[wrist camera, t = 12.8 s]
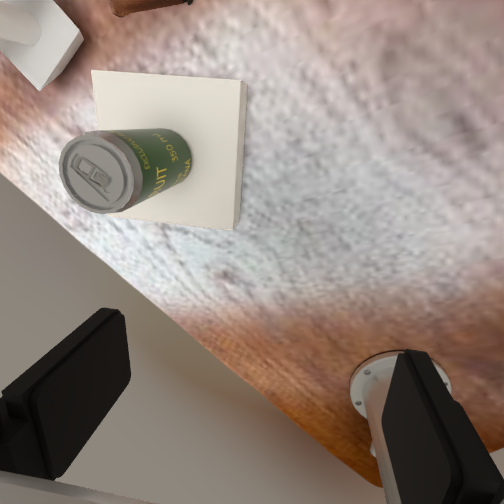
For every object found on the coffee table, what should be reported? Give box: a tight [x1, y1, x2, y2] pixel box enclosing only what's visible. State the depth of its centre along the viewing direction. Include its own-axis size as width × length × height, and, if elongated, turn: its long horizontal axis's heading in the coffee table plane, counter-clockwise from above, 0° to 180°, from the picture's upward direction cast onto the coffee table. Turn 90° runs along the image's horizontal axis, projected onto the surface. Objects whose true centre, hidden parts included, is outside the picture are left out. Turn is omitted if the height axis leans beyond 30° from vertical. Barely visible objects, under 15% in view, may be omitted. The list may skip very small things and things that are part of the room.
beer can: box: [59, 128, 192, 214], centre depth 25 cm, size 5×5×12 cm
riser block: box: [91, 70, 248, 231], centre depth 33 cm, size 14×14×4 cm
